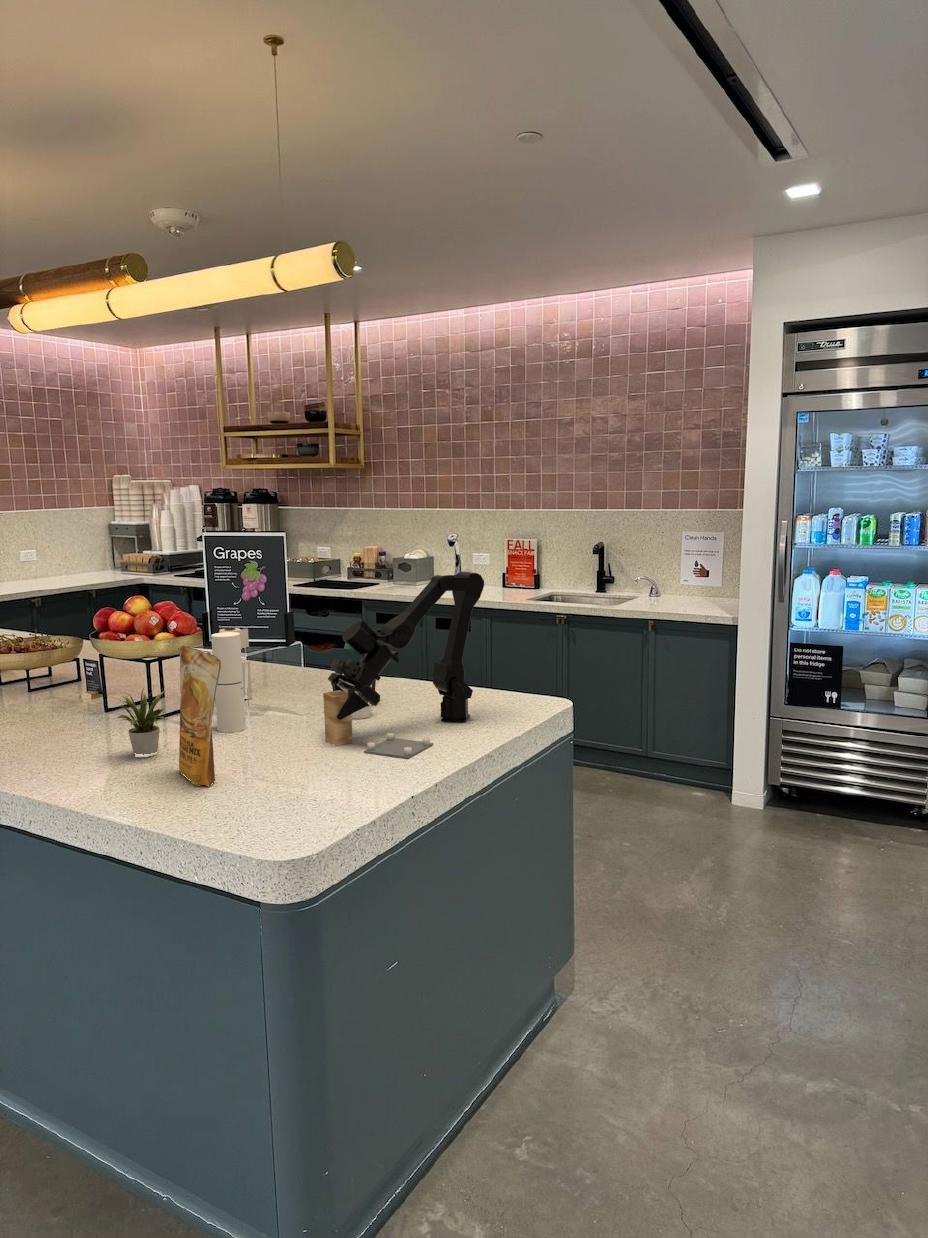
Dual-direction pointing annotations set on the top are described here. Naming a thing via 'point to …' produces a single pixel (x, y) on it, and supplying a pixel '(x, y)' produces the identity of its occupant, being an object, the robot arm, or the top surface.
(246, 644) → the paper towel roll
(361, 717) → the white cup
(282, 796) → the top surface
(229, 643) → the cylindrical container
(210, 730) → the pancake mix bag
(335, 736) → the wooden block
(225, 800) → the top surface
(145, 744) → the house plant
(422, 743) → the peg plate
